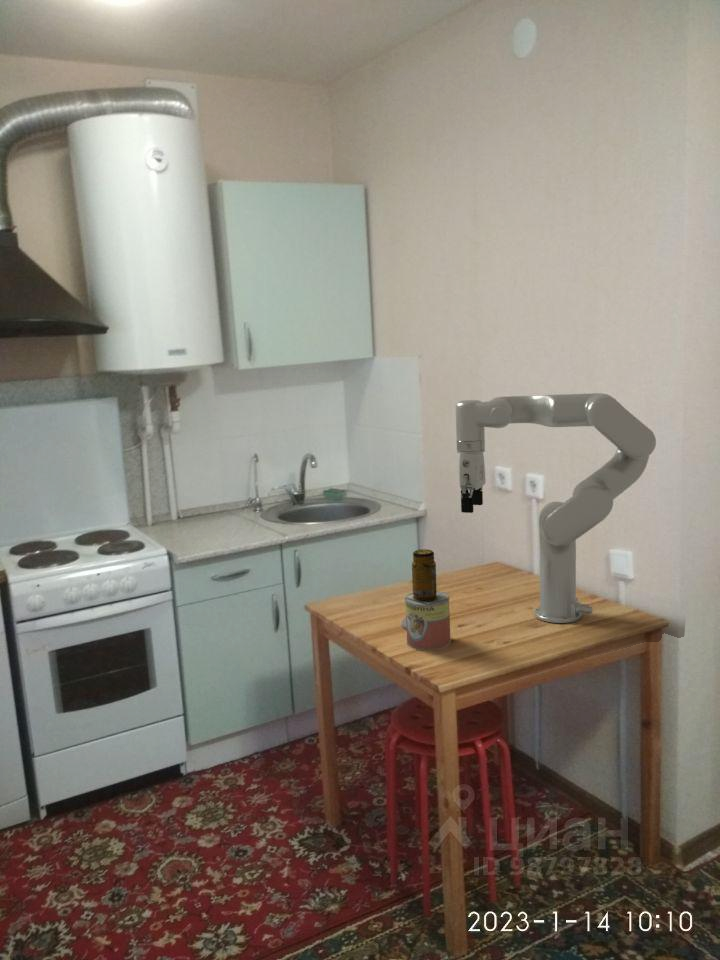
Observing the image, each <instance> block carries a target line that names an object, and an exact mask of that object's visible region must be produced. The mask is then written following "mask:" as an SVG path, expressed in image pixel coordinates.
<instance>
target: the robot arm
mask: <svg viewBox="0 0 720 960" xmlns="http://www.w3.org/2000/svg"><path fill="white" fill-rule="evenodd" d="M509 424H533V425H535V424H536V425H541V426H543V427H547V428H567V427H568V428H569V427H571V428H572V427H593V428H595V429H596V430H597V431H598V432H599V433H600V435H603V437H604V438H606V440H608V441H609V442H610V443H612V444H613V445H614V446H615V447H616V451H615V454H614V455H613V456H612V457H611V458H610V460H608V461H607V462H606V463H604V464H603V466H601V467H599V469H598V470H596V471H594V472H593V473H592V474H591V475H589V476H588V477H585V479H583V480H582V481H580V482H579V483H577V485H575V487H574V489H573V490H572V491H573V492H572V496H571V497H570V498H568V499H567V500H565V501H564V502H563V501H557V500H555V501H552V502H551V501H550V502H549V503H547V504H546V505H544V506H543V507H542V509H541V511H540V513H539V516H538V535H539V537H538V538H539V539H538V540H539V601H540V602H539V606H538V607H536V608H535V609H534V611H533V613H534V615H533V616H535V618H536V619H538V620H540V621H543V622H547V623H552V624H553V623H554V624H567V623H569V624H570V623H574V622H576V621H579V620H580V619H581V618H582V617H583V613H585V614H591V615H592V614H593V606H591V605H590V604H589V603H581V602H579V598H578V597H577V590H576V589H577V586H576V585H577V584H576V583H577V581H576V580H577V576H576V575H577V571H576V570H577V568H576V564H577V563H576V561H577V546H576V545H577V544H576V543H577V541H576V540H578V539H579V538H580V537H582V536H583V535H584V534H586V533H587V532H589V531H590V530H592V529H593V528H594V527H596V526H597V525H598V524H600V523H602V521H604V520H605V519H606V518H607V517H608V516H609V514H610V513H611V512H612V510H613V506H614V499H616V498H617V497H618V496H620V495H621V494H622V493H624V492H625V491H627V489H628V488H630V487H631V486H632V485H633V484H635V483H636V482H637V481H638V480H639V479H640V478H641V476H643V475H642V474H643V473H644V471H645V469H646V467H647V465H648V462H649V459H650V455H652V453H653V452H654V450H655V448H656V445H657V439H656V435H655V433H654V432H653V430H651V429H650V428H649V427H648V426H647V425H645V424H644V423H643V422H642V421H641V420H639V419H638V418H637V417H636V416H634V415H633V413H631V412H630V411H629V410H628V409H627V408H625V407H624V406H623V405H622V404H621V403H620V402H619V401H618V400H617V399H616V398H614V397H613V396H611V395H609V394H607V393H601V392H599V393H597V392H596V393H595V392H594V393H574V394H573V393H570V394H568V393H567V394H543V395H518V396H515V395H512V396H497V397H494V398H492V399H490V400H488V401H482V400H479V399H478V400H477V399H470V400H469V399H466V400H460V401H457V402H456V404H455V429H456V431H455V432H456V433H455V434H456V436H455V437H456V439H455V440H456V453H457V454H459V462H458V463H459V466H458V467H459V469H458V470H459V471H458V475H459V478H458V479H459V488H460V507H461V508H460V510H461V513H462V514H463V513H465V514H469V513H470V514H473V513H474V506H482V505H483V504H484V499H483V498H484V497H483V496H484V495H483V486H484V485H486V468H485V456H484V452H485V451H486V442H485V441H486V439H485V437H486V436H485V433H486V432H485V428H492V429H503V428H505V427H507V426H508V425H509Z"/></svg>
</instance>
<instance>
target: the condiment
mask: <svg viewBox="0 0 720 960" xmlns="http://www.w3.org/2000/svg"><path fill="white" fill-rule="evenodd" d="M412 560H413V561H412V563H411V576H412V578H411V579H412V580H411V581H412V593H413V595H409V596H407V595H405V597H407V598H409V599H412V600H416V601H419V602H422V603H426V604H431V603H434V602H438V601H441V600H444V599H447V598H448V597H445V596H442V595H439V594H437V591H438V590H437V564H436V561H435V552H434V551H433V550H432V549H426V548H425V549H416V550H414V551H413V552H412Z"/></svg>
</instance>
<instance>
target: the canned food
mask: <svg viewBox="0 0 720 960" xmlns="http://www.w3.org/2000/svg"><path fill="white" fill-rule="evenodd" d="M437 594H439V595H442V596H445V597H448V598H447V599H444V600H441V601H438V602H434V603H431V604H426V603H422V602H419V601H416V600H412V599H409V598H407V597H406V596H409V595H413V592H410V593H408V594H407V595H406V596H404V600H405V618H406V628H407V630H406V644H407V645H406V646H408V647H410V648H411V649H413V650H417V651H424V652H425V651H426V652H427V651H429V652H430V651H438V650H439V651H440V650H443V649H446V648H447V647H448V646H450V645H451V643H452V641H451V640H452V639H451V621H450V620H451V617H450V615H451V614H450V594H449V595H448V594H447V593H445V592H443V591H439V590H437Z"/></svg>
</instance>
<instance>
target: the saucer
mask: <svg viewBox="0 0 720 960" xmlns="http://www.w3.org/2000/svg"><path fill="white" fill-rule="evenodd" d="M401 627H402V628H403V629H404V630H405V631H407V628H406V617H405V618H403V619H402V620H401Z"/></svg>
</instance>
